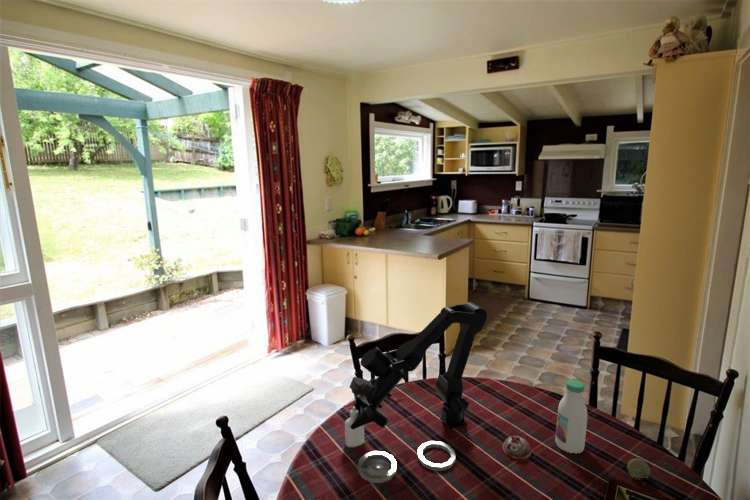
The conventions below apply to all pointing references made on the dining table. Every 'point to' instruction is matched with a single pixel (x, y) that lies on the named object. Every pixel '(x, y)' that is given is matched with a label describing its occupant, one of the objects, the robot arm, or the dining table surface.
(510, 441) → the pastry
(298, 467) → the dining table surface
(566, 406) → the milk bottle
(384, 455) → the collar
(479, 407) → the dining table surface
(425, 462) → the collar
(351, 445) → the eye dropper bottle
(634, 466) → the lime
